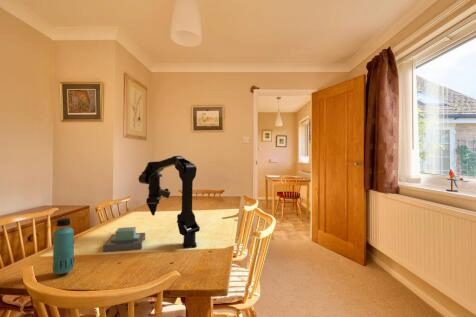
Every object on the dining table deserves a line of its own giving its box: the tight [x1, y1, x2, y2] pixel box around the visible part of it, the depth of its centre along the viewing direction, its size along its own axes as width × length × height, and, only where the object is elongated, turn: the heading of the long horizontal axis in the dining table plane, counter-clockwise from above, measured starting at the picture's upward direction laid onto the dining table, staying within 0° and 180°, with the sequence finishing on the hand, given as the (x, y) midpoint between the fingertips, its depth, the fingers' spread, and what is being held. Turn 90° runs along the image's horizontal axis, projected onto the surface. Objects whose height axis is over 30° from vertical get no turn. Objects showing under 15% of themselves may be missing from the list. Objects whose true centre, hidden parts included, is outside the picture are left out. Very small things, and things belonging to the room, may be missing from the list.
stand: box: [102, 232, 146, 253], centre depth 122 cm, size 16×16×3 cm
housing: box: [111, 226, 140, 241], centre depth 122 cm, size 12×6×5 cm, turn 104°
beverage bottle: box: [52, 217, 75, 275], centre depth 91 cm, size 6×7×20 cm
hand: (154, 213), depth 136 cm, fingers open, 9 cm apart
